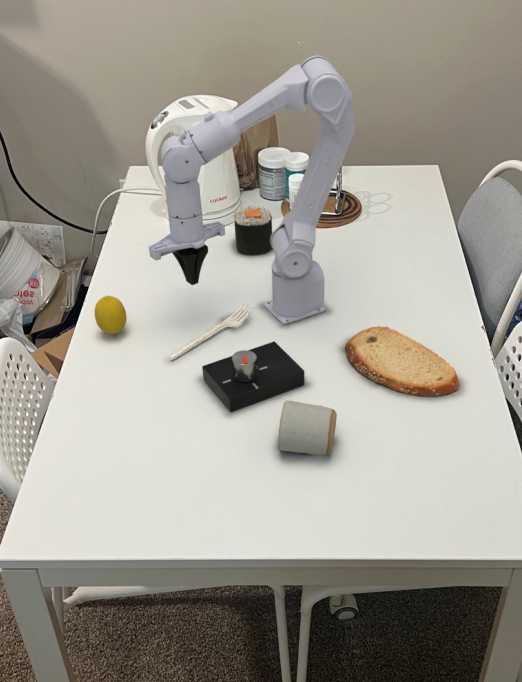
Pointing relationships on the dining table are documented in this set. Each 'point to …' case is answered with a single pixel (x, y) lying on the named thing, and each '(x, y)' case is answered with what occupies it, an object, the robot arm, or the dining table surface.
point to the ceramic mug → (306, 428)
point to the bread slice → (400, 363)
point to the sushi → (253, 230)
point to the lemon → (110, 315)
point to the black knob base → (271, 380)
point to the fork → (217, 329)
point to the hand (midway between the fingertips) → (192, 282)
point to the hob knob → (244, 366)
